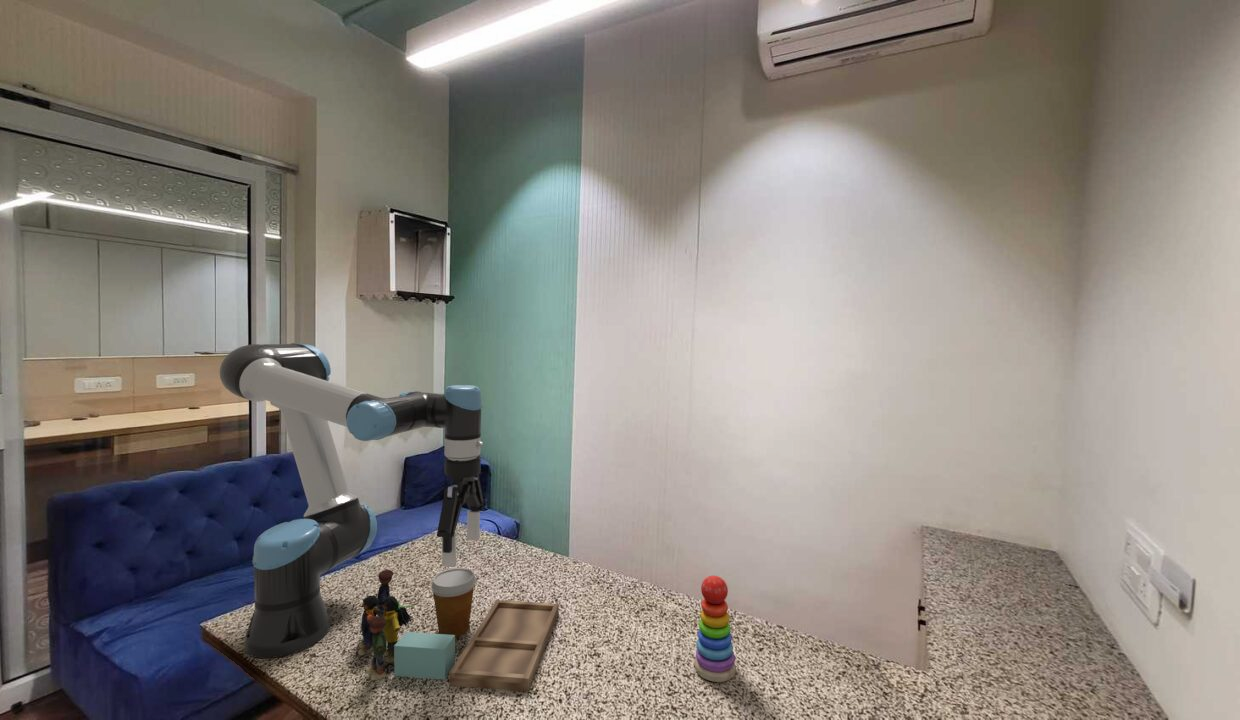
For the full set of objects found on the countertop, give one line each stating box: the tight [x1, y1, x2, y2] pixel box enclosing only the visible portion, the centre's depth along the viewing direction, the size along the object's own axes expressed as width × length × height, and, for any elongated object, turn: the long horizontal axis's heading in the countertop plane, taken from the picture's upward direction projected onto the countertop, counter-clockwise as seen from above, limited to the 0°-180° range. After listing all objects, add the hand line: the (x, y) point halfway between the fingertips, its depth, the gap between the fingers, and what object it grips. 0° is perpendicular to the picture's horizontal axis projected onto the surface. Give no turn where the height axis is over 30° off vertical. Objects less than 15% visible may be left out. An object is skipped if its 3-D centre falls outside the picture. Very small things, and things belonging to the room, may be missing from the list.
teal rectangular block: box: [393, 631, 456, 681], centre depth 96 cm, size 10×4×6 cm, turn 85°
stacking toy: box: [693, 575, 737, 683], centre depth 97 cm, size 8×8×19 cm
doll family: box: [357, 569, 414, 681], centre depth 103 cm, size 23×9×13 cm, turn 41°
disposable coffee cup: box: [430, 567, 477, 639], centre depth 109 cm, size 10×10×12 cm
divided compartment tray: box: [448, 599, 560, 693], centre depth 104 cm, size 15×26×2 cm, turn 175°
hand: (461, 551), depth 110 cm, fingers open, 13 cm apart
